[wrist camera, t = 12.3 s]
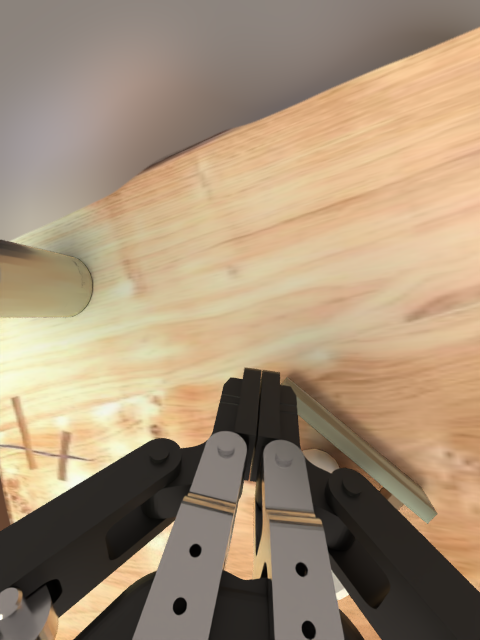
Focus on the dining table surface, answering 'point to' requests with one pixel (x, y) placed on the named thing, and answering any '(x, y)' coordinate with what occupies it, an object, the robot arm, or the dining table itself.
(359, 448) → the dock
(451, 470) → the dining table surface
